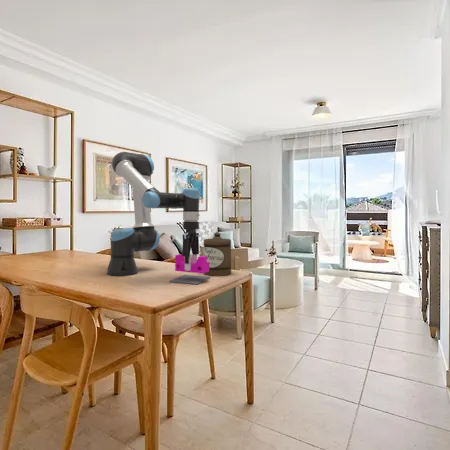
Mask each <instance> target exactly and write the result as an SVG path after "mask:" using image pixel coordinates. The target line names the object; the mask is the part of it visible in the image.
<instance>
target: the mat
mask: <svg viewBox="0 0 450 450" xmlns="http://www.w3.org/2000/svg"><path fill="white" fill-rule="evenodd" d="M209 279H211V276H206V275H195V274H194V275H193V274H191V275H190V274H183V275H180V276H178V277H175V278H173V279H171V280H169V283H172V284H173V283H175V284H183V285H193V286H194V285H195V286H196V285H197V286H198V285H201V284H202V283H204V282H205V281H208V280H209Z"/></svg>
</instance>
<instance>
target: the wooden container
mask: <svg viewBox="0 0 450 450" xmlns="http://www.w3.org/2000/svg"><path fill="white" fill-rule="evenodd" d="M221 234H222V233H221V232H220V231H219V232H218V231H216V232H214V234H213V235H214V236H213V237H212V238H204V239H203V256H207V262H209V271H208V272H206V273H203V275H205V276H206V275H207V276H210V277H211V276H212V277H217V276H218V277H221V276H229V275H231V274H232V240H231V239H230V238H222V237H221Z"/></svg>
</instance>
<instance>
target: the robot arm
mask: <svg viewBox="0 0 450 450" xmlns="http://www.w3.org/2000/svg"><path fill="white" fill-rule="evenodd" d="M111 168H112V169H113V172H114V173H115V174H116V175H117V176H118V177H121V178H123V179H124V181H126V182H127V183H128V184H129V185H130V187H131V188H132V194H133V196H132V197H133V199H132V200H133V210H134V221H135V222H134V223H135V224H134V225H133V226H132V227H125V228H124V227H122V228H116V229H114V230H112V231H111V232H110V260H109V263H108V266H107V269H106V274H107V275H110V276H117V277H119V276H120V277H122V276H123V277H125V276H131V275H136V274H138V267H137V263H136V261H135V253H137V252H149V251H153V250H155V249H156V248H157V247H158V246H159V243H160V239H161V238H160V237H161V236H160V233H159V231H158V230H157V229H156V228H155V225H154V224H153V223H152V215H151V209H172V210H173V209H174V210H176V209H180V210H181V209H182V220H183V221H182V230H185V233H183V234H182V251H181V253H182V254H181V255H182V256H183V257H184V259H185V270H187V271H191V263H193V264H195V263H196V262H197V259H198V255H199V254H200V250H199V249H200V243H199V240H200V239H199V238H200V233H199V232H197V230H199V229H200V222H199V220H200V219H199V218H200V215H201V214H200V191H199V189H198V188H192V187H191V188H190V187H187V188H186V187H185V188H183V192H181V193H180V192H177V193H176V192H164V191H163V192H162V191H159V190H158V189H157V188H156V187H155V186H154V185H153V184H151V182H150V181H149V180H150V179H151V176H152V175H153V174H154V170H155V165H154V161H153V159H152V158H151V157H150V156H149V155H147V154H143V153H135V152H129V151H128V152H127V151H120V152H118V153H116V154H114V156H113V158H112V160H111Z"/></svg>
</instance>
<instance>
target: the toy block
mask: <svg viewBox="0 0 450 450" xmlns="http://www.w3.org/2000/svg"><path fill="white" fill-rule="evenodd" d="M174 259H175V261H174V263H175V265H174V267H175V268H174V271H175V272H181V273H182V272H183V273H193V274H195V273H196V274H204V273H206V272H208V271H209V262H207V256H204V255H200V256H197V262H196V263H195V264H193V263H191V271H187V270H185V257H184V256H182V254H176V255H174Z"/></svg>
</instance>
